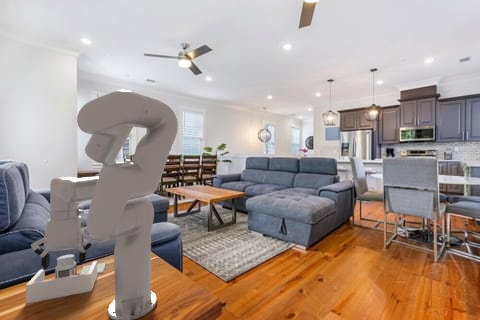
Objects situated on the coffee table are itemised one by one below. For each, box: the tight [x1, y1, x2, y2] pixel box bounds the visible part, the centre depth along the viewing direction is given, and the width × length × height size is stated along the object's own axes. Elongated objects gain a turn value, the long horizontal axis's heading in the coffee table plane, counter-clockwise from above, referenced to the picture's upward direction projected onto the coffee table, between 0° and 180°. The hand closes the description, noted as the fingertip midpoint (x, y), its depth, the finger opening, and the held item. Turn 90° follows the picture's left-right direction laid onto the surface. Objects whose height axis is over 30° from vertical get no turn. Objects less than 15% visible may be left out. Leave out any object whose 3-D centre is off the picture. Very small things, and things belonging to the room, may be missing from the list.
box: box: [25, 260, 98, 304], centre depth 75 cm, size 10×16×6 cm, turn 113°
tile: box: [79, 262, 107, 275], centre depth 87 cm, size 8×8×1 cm
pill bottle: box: [54, 254, 78, 279], centre depth 76 cm, size 6×6×10 cm
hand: (64, 265), depth 76 cm, fingers open, 9 cm apart
